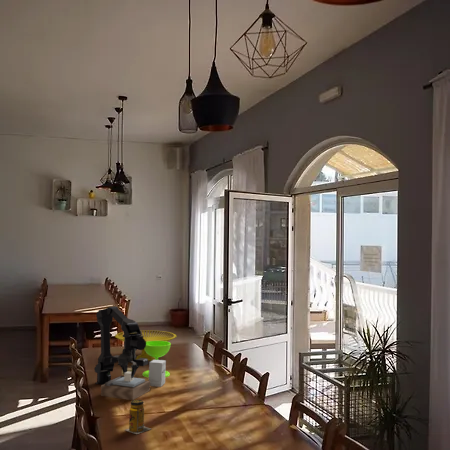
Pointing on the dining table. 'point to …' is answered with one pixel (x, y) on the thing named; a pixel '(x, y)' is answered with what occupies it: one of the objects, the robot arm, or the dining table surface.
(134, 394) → the case
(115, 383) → the cover
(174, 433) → the dining table surface
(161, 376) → the supplement box
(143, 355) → the cake stand
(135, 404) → the condiment
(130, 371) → the latch
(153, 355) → the wineglass
